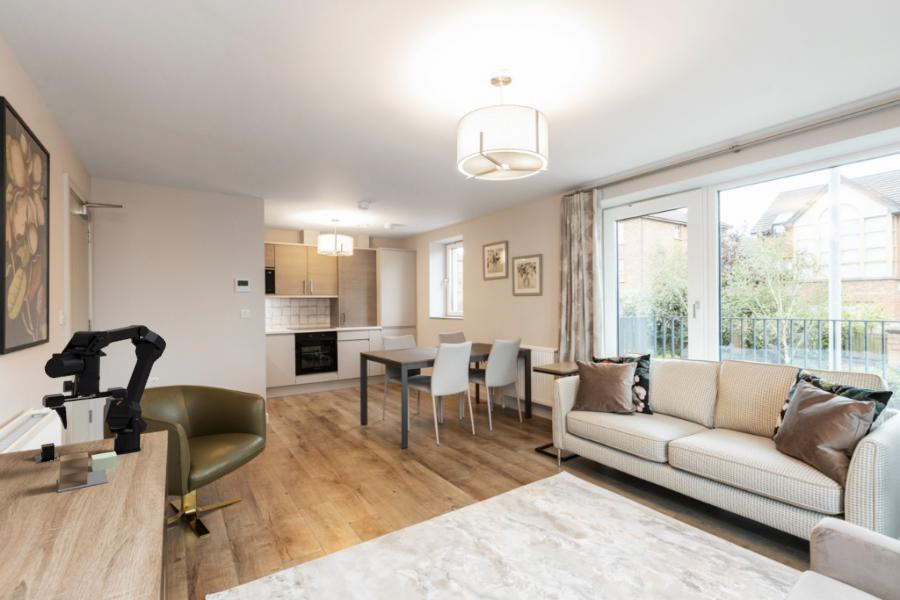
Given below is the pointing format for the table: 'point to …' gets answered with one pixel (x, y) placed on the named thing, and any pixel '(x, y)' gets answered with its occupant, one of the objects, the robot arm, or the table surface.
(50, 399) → the robot arm
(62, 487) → the walnut block lower
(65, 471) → the walnut block upper
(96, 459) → the sage block
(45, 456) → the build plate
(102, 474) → the slate mat
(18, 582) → the table surface
